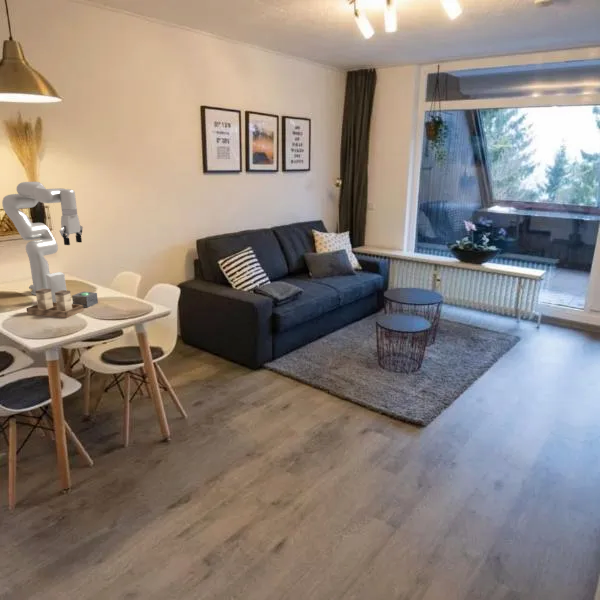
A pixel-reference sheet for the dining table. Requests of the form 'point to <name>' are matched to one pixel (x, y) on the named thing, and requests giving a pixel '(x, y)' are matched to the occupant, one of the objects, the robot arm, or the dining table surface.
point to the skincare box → (56, 283)
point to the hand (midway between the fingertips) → (73, 243)
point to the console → (85, 299)
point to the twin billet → (44, 298)
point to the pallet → (55, 311)
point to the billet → (63, 300)
